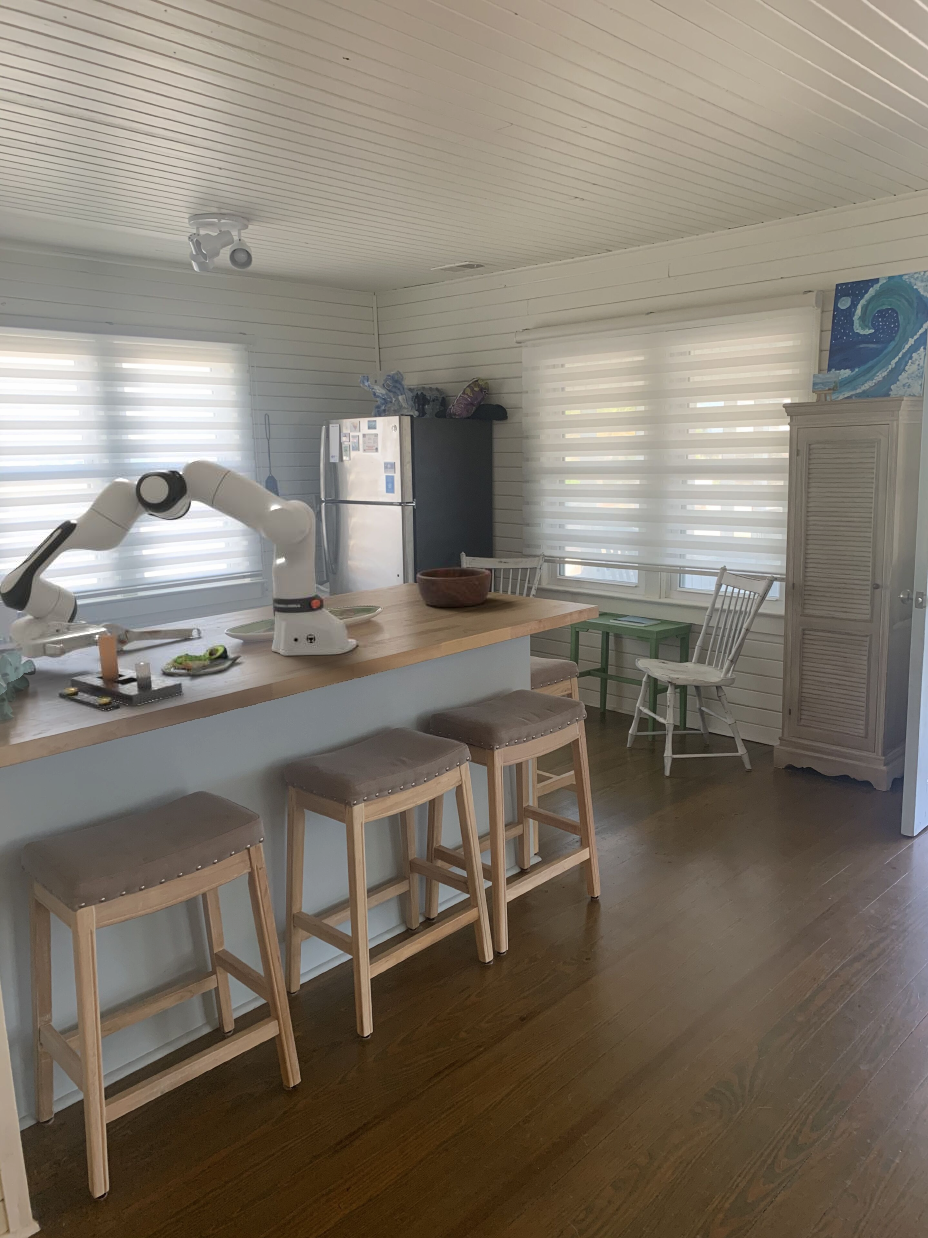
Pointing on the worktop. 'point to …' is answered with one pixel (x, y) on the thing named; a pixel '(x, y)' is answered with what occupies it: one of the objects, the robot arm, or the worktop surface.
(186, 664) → the salad plate
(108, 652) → the dowel
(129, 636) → the wrench
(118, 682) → the hole plate
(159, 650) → the worktop surface
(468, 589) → the wooden bowl
